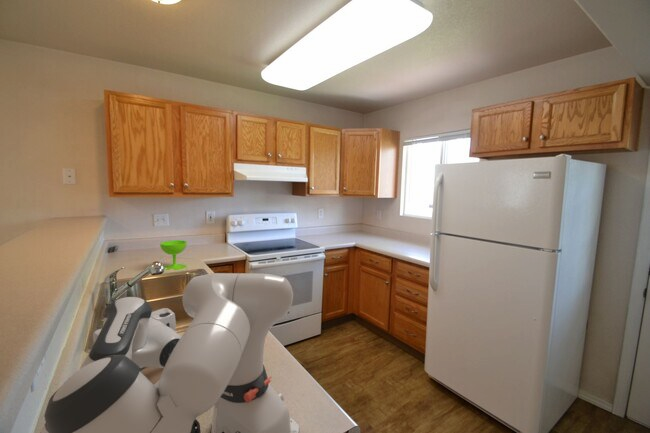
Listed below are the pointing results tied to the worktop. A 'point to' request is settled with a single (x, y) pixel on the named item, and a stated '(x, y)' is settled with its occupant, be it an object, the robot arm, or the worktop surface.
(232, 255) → the worktop surface
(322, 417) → the worktop surface
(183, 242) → the wineglass
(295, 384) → the worktop surface
